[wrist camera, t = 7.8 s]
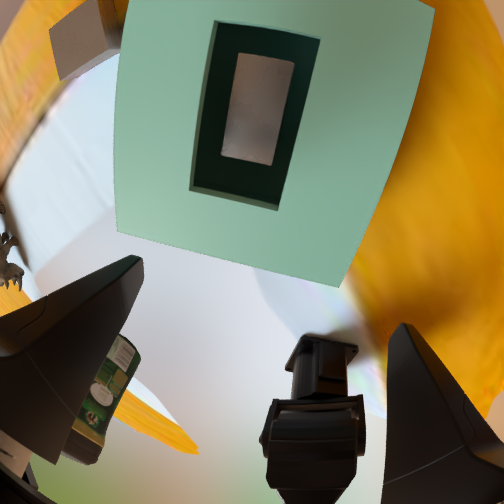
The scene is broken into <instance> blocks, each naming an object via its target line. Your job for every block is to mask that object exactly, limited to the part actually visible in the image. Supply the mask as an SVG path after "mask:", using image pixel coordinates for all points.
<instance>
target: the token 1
mask: <svg viewBox="0 0 504 504" xmlns="http://www.w3.org/2000/svg"><path fill="white" fill-rule="evenodd" d="M49 34H50V39H51V45H52V49H53V54H54V59H55V63H56V67H57V71H58V75H59V79H60V81H63V80H68V79H73V78H78V77H79V76H81V75H82V74H84V73H85V72H87V71H89V70H90V69H92V68H93V67H95V66H97V65H98V64H100V63H102V62H103V61H105V60H107V59H109V58H111V57H112V56H114V55H116V54H118V53H120V49H121V42H122V35H121V31H120V27H119V23H118V19H117V14H116V10H115V6H114V1H113V0H87V1H85V2H84V3H83V4H81V5H80V6H78V7H77V8H76V9H74V10H73V11H72V12H70V13H69V14H68V15H66V16H65V17H64V18H63V19H61V20H60V21H59V22H58V23H56V24H55V25H54V26H53V27H52V28H51V29H49Z"/></svg>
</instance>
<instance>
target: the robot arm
mask: <svg viewBox="0 0 504 504" xmlns="http://www.w3.org/2000/svg"><path fill="white" fill-rule="evenodd" d="M143 281H144V267H143V259H142V258H141V257H139V256H135V255H129V256H127V257H125V258H122V259H120V260H118V261H116V262H114V263H112V264H110V265H107V266H105V267H103V268H101V269H99V270H97V271H95V272H93V273H91V274H89V275H86V276H85V277H83V278H80V279H78V280H76V281H74V282H72V283H70V284H68V285H66V286H64V287H62V288H60V289H58V290H56V291H54V292H52V293H50V294H49V295H48V296H47V295H46V296H44V297H42V298H40V299H39V300H37V301H35V302H33V303H30V304H28V305H26V306H24V307H22V308H20V309H18V310H15V311H13V312H11V313H8V314H6V315H4V316H1V317H0V504H57V503H55V502H54V501H52V500H50V499H49V498H47V497H46V496H44V495H43V494H41V493H40V492H38V491H37V490H38V485H37V483H36V480H35V477H34V475H33V471H32V469H31V466H30V462H29V460H30V458H31V455H32V453H35V454H37V455H38V456H40V457H42V458H44V459H45V460H47V461H49V462H50V463H52V464H54V465H56V463H57V461H58V459H59V456H60V454H61V451H62V449H63V447H64V444H65V442H66V440H67V437H68V435H69V433H70V430H71V428H72V426H73V424H74V421H75V419H76V417H77V415H78V412H79V410H80V408H81V406H82V404H83V402H84V400H85V398H86V396H87V394H88V391H89V389H90V387H91V385H92V383H93V381H94V379H95V377H96V375H97V374H98V372H99V370H100V368H101V366H102V364H103V362H104V360H105V358H106V356H107V354H108V353H109V351H110V349H111V347H112V345H113V343H114V341H115V340H116V338H117V336H118V334H119V332H120V330H121V329H122V327H123V325H124V323H125V321H126V320H127V318H128V315H129V313H130V311H131V308H132V306H133V304H134V302H135V299H136V297H137V295H138V293H139V290H140V288H141V286H142V284H143ZM358 351H359V349H358V346H355V345H350V344H344V343H339V342H333V341H328V340H323V339H318V338H313V337H308V336H302V337H301V338H300V339H299V341H298V343H297V345H296V347H295V349H294V350H293V352H292V354H291V356H290V358H289V360H288V362H287V363H286V365H285V370H286V371H289V372H293V382H292V392H291V399H290V400H279V399H273V401H272V405H271V406H270V408H269V411H268V415H267V418H266V422H265V425H264V429H263V431H262V433H261V435H260V437H259V443H260V444H261V445H262V447H263V454H264V457H265V458H268V462H267V473H266V480H267V482H268V484H269V486H270V488H272V489H275V491H276V492H277V494H278V495H279V497H280V499H281V500H282V502H283V504H335V502H336V501H337V500H338V499H339V497H340V496H341V495H342V493H343V492H344V491H345V489H346V488H347V487H348V486H349V484H350V483H351V481H352V480H353V478H354V477H355V475H356V470H357V457H358V456H364V454H365V447H366V423H365V411H364V401H363V394H359V395H357V396H348V381H347V365H348V364H349V363H350V362H351V361H352V359H353V358H354V357H355V356H356V354H357V353H358ZM383 484H384V485H383V488H382V498H381V504H504V443H503V442H502V441H501V440H500V439H499V438H498V437H497V435H496V434H495V433H494V431H493V430H492V429H491V428H490V426H489V425H488V424H487V422H486V421H485V420H484V418H483V417H482V416H481V414H480V413H479V412H478V411H477V409H476V408H475V406H474V405H473V404H472V402H471V401H470V399H469V398H468V397H467V395H466V394H464V391H463V390H462V388H461V387H460V385H459V384H458V383H457V381H456V380H455V379H454V377H453V376H452V375H451V373H450V372H449V370H448V369H447V368H446V367H445V365H444V364H443V363H442V361H441V360H440V359H439V357H438V356H437V355H436V353H435V352H434V351H433V350H432V348H431V347H430V346H429V345H428V343H427V342H426V341H425V340H424V338H423V337H422V336H421V335H420V333H419V332H418V331H417V330H416V328H415V327H414V326H413V325H412V324H409V323H404V322H403V323H401V324H400V325H399V326H398V327H397V329H396V330H395V331H394V333H393V334H392V335H391V337H390V339H389V343H388V364H387V435H386V457H385V469H384V480H383Z"/></svg>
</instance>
